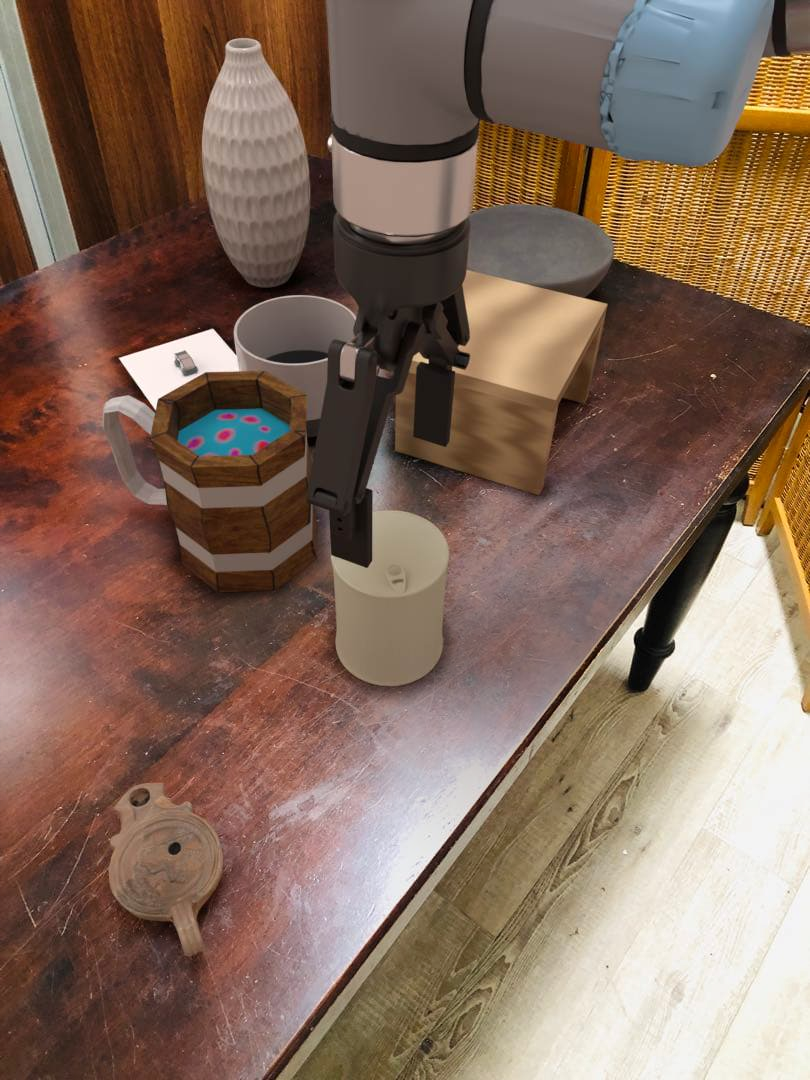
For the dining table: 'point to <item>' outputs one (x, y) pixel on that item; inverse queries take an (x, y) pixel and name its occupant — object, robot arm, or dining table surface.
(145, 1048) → the dining table surface
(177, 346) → the white paper sheet
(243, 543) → the mug
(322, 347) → the planter
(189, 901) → the oil lamp
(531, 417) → the shelf
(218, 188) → the vase
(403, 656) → the can
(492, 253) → the bowl
